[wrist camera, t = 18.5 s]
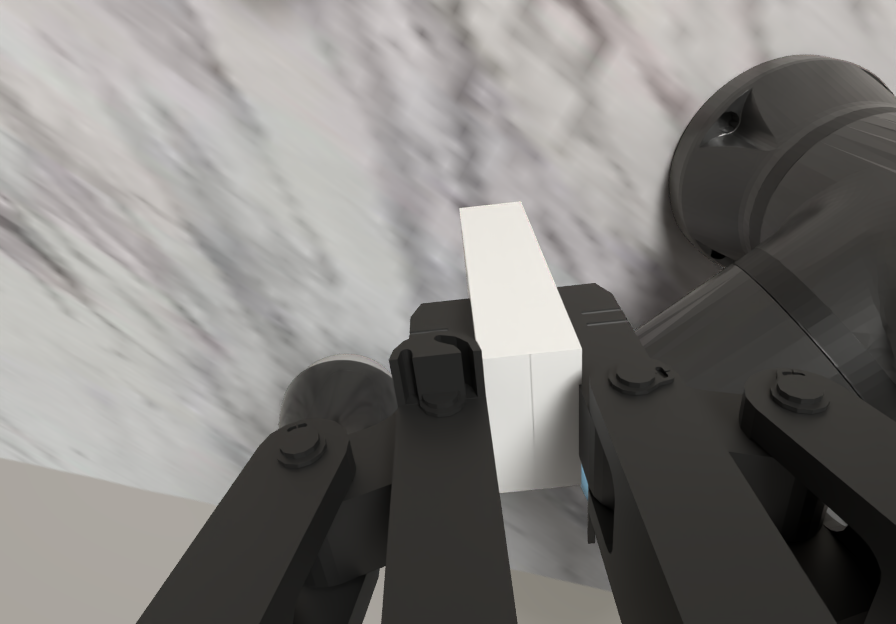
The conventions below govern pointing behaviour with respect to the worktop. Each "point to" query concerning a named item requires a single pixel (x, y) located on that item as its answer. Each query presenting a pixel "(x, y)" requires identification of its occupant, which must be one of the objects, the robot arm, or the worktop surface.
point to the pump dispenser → (341, 393)
